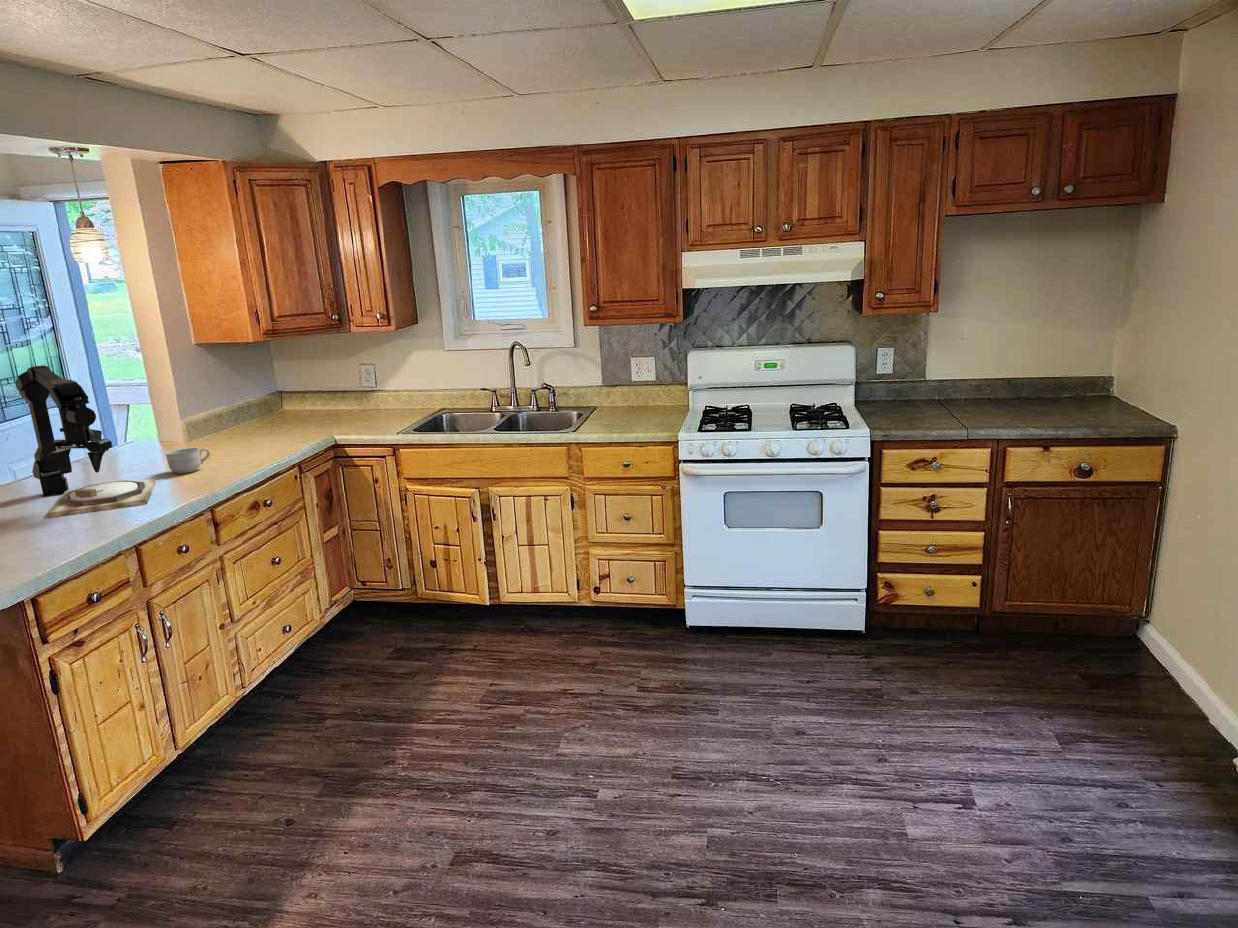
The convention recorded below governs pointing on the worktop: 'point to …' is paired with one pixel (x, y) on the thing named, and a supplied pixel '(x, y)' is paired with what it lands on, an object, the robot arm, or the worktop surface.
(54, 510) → the dial base
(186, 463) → the teacup
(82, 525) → the worktop surface
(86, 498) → the dial
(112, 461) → the worktop surface
